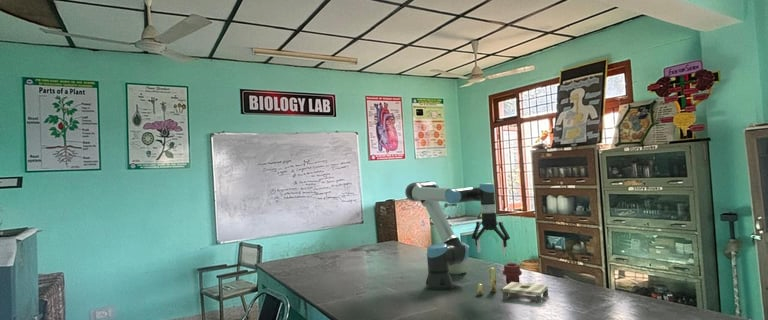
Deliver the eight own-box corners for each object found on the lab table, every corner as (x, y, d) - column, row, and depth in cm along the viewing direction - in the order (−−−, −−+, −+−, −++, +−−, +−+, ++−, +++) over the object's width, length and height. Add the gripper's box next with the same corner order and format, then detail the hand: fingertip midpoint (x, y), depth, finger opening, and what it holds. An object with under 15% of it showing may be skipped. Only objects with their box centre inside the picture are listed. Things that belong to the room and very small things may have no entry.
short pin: (476, 294, 220) (476, 284, 220) (478, 293, 222) (478, 283, 222) (482, 295, 218) (481, 285, 218) (484, 293, 221) (483, 284, 221)
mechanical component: (521, 283, 235) (523, 288, 226) (502, 283, 237) (504, 288, 228) (520, 261, 236) (522, 265, 226) (501, 261, 238) (502, 265, 228)
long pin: (489, 291, 224) (488, 268, 224) (492, 290, 226) (490, 267, 227) (495, 292, 222) (493, 268, 223) (497, 290, 225) (495, 267, 225)
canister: (439, 270, 278) (437, 238, 278) (466, 268, 280) (463, 236, 280) (446, 277, 260) (443, 242, 260) (474, 274, 262) (472, 240, 262)
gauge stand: (503, 298, 210) (502, 288, 210) (512, 291, 222) (511, 281, 222) (540, 303, 200) (539, 292, 200) (548, 295, 211) (547, 285, 211)
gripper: (463, 213, 230) (466, 252, 229) (509, 213, 216) (512, 255, 215) (469, 211, 236) (472, 250, 235) (514, 211, 222) (517, 252, 221)
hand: (491, 252), depth 225 cm, fingers open, 13 cm apart
